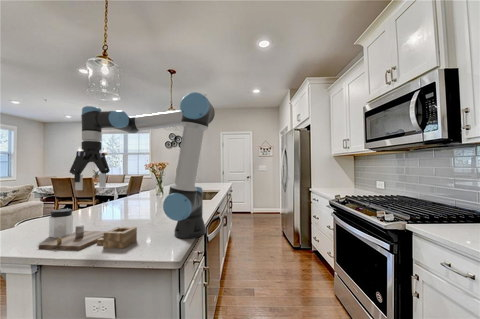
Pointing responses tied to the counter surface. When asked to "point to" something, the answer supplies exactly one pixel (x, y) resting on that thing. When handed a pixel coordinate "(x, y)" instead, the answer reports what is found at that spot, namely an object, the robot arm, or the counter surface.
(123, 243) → the wooden square frame
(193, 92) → the robot arm
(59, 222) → the jar
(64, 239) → the jig
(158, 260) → the counter surface
